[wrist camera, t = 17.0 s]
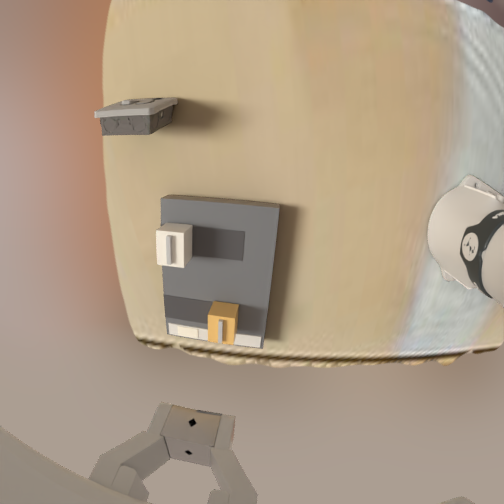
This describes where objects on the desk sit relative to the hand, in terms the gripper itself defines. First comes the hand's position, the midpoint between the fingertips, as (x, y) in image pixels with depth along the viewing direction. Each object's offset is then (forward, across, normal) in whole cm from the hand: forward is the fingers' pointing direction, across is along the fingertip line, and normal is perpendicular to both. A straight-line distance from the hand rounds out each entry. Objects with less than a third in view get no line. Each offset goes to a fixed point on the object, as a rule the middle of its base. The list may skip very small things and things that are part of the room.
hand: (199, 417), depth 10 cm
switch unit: (+35, +6, +10) cm, 37 cm away
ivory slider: (+32, +11, +4) cm, 34 cm away
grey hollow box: (+35, +18, -14) cm, 42 cm away
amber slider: (+32, +4, +16) cm, 36 cm away
